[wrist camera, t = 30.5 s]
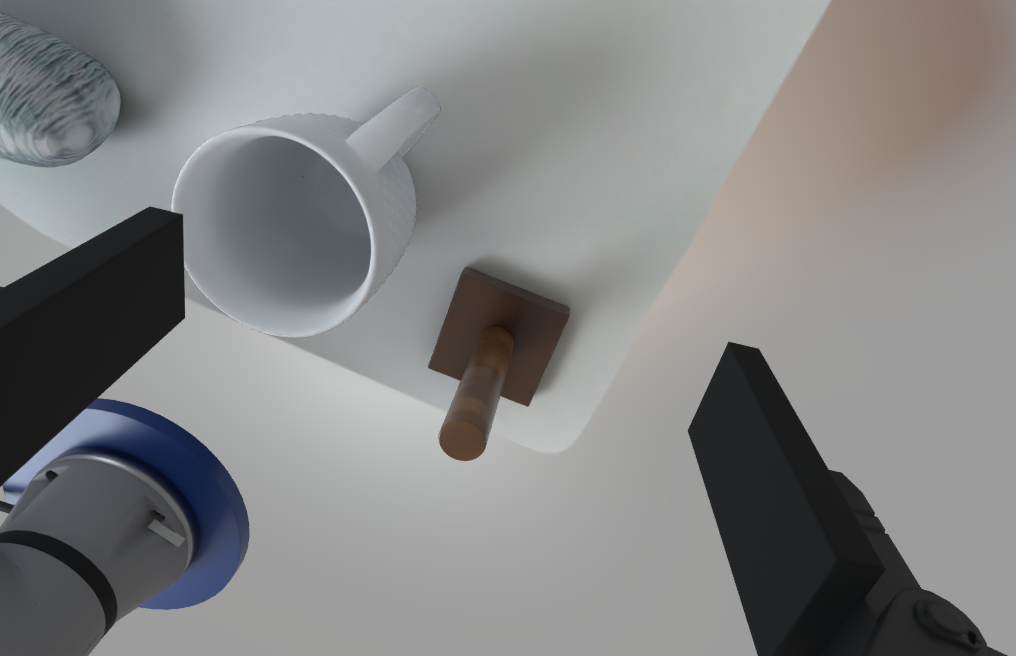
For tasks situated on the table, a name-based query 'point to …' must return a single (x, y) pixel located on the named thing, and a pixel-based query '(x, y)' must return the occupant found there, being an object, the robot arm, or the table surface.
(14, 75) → the streaked grey ellipsoid
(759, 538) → the robot arm
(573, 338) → the table surface
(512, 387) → the dowel stand
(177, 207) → the mug
